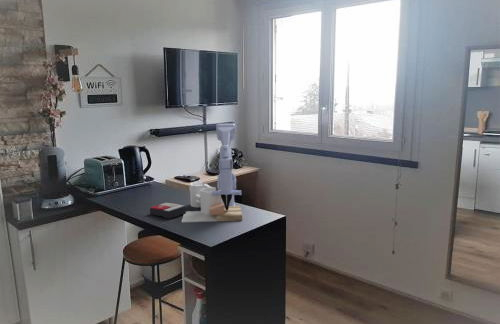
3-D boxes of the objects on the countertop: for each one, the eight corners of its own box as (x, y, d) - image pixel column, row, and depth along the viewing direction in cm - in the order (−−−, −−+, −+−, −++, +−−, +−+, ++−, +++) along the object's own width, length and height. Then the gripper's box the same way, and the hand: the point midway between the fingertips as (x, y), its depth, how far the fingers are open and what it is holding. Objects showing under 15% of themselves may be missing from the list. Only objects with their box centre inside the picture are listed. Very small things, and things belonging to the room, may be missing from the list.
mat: (184, 212, 203) (184, 211, 203) (217, 211, 204) (217, 210, 204) (181, 222, 187) (181, 221, 187) (216, 221, 188) (216, 220, 188)
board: (217, 211, 204) (216, 206, 203) (240, 210, 205) (240, 205, 204) (216, 221, 188) (216, 216, 188) (242, 220, 189) (242, 215, 189)
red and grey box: (166, 201, 208) (185, 204, 199) (167, 209, 209) (186, 212, 200) (149, 207, 200) (168, 210, 191) (150, 215, 201) (169, 218, 191)
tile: (210, 208, 200) (210, 204, 200) (224, 207, 201) (224, 202, 200) (210, 214, 190) (209, 209, 190) (224, 213, 191) (224, 208, 190)
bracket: (187, 205, 217) (186, 183, 215) (203, 202, 222) (202, 181, 220) (206, 217, 196) (205, 193, 194) (223, 213, 201) (223, 190, 199)
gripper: (211, 184, 189) (211, 212, 191) (241, 183, 190) (242, 211, 192) (211, 181, 196) (212, 208, 198) (240, 180, 197) (241, 207, 199)
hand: (226, 209), depth 196 cm, fingers closed
